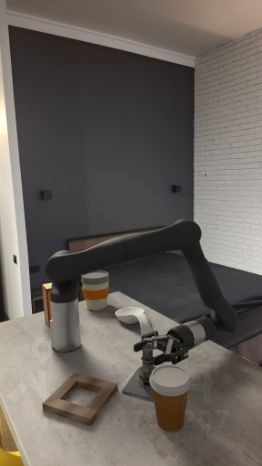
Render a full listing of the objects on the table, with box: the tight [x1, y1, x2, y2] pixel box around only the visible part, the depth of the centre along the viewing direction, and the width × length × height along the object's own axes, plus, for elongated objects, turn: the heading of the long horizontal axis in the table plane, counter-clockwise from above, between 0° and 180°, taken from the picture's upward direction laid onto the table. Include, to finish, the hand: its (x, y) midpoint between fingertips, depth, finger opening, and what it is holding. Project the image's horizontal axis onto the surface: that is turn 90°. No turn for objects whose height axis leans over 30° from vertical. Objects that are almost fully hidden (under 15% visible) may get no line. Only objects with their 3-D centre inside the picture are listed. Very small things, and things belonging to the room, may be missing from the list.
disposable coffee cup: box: [149, 364, 192, 433], centre depth 75 cm, size 10×10×12 cm
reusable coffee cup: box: [80, 270, 110, 311], centre depth 144 cm, size 13×12×15 cm
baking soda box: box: [41, 282, 52, 328], centre depth 130 cm, size 10×6×16 cm
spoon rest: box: [114, 306, 153, 338], centre depth 124 cm, size 24×12×7 cm, turn 22°
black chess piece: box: [137, 343, 157, 389], centre depth 88 cm, size 6×6×12 cm
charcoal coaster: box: [121, 368, 154, 402], centre depth 89 cm, size 11×11×1 cm
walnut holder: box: [42, 371, 119, 427], centre depth 84 cm, size 14×14×2 cm
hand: (143, 355), depth 87 cm, fingers open, 8 cm apart
